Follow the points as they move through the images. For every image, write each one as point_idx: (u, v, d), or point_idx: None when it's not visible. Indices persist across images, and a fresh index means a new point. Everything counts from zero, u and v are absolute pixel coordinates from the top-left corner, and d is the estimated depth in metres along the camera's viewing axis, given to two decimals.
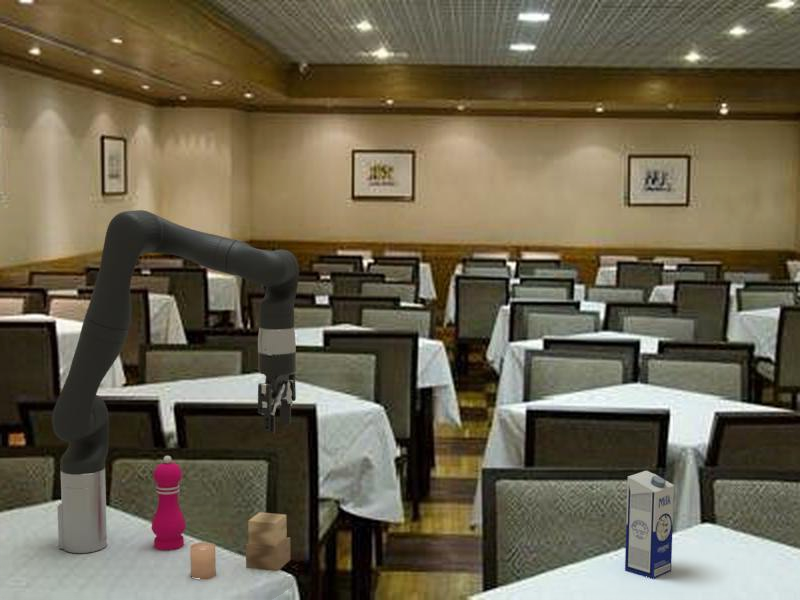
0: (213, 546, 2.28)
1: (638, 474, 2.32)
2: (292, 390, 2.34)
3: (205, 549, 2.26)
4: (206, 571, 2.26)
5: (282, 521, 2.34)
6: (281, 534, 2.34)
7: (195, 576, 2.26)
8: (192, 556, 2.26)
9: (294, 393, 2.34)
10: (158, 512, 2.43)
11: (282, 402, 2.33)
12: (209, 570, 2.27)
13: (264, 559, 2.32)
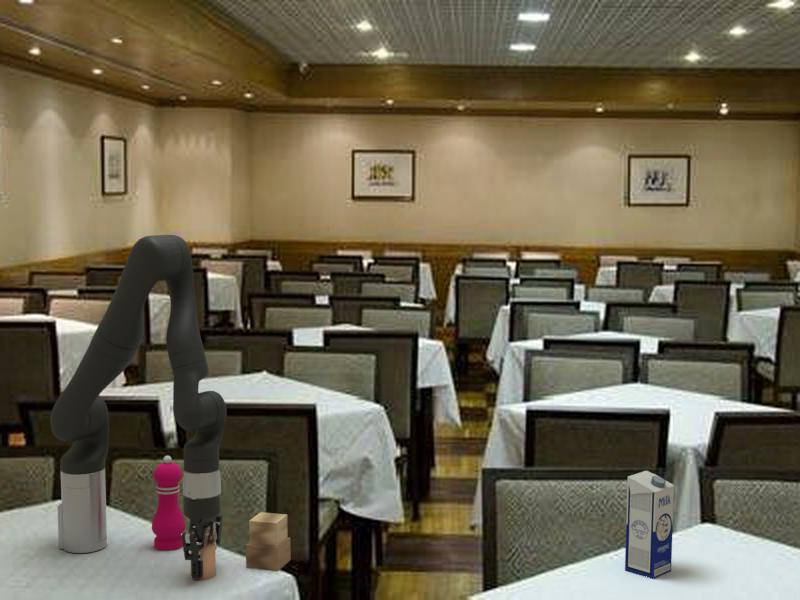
0: (213, 546, 2.28)
1: (638, 474, 2.32)
2: (217, 533, 2.32)
3: (205, 549, 2.26)
4: (206, 570, 2.26)
5: (283, 520, 2.34)
6: (282, 534, 2.34)
7: None
8: None
9: (219, 536, 2.33)
10: (158, 512, 2.43)
11: None
12: (209, 570, 2.27)
13: (264, 559, 2.32)
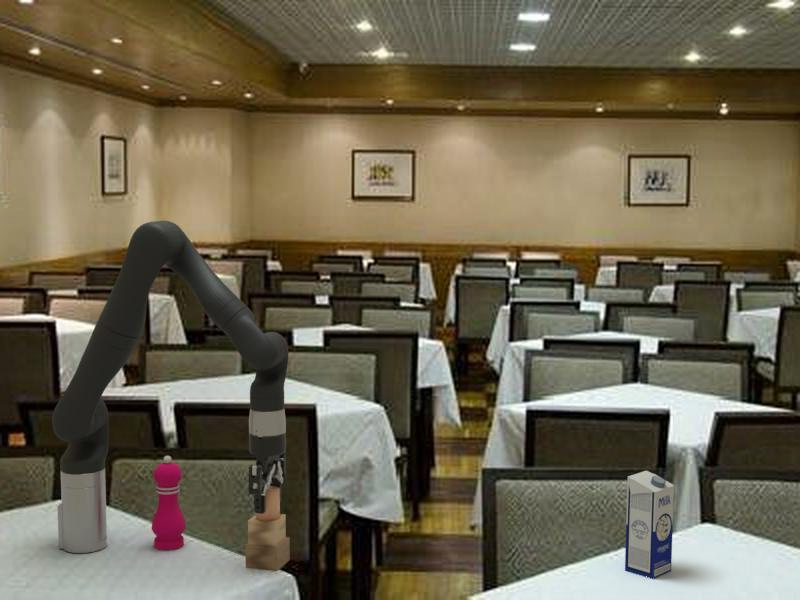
0: (277, 489, 2.33)
1: (638, 474, 2.32)
2: (282, 468, 2.38)
3: (270, 492, 2.31)
4: (272, 513, 2.32)
5: (282, 520, 2.34)
6: (280, 533, 2.34)
7: (260, 518, 2.32)
8: None
9: (284, 470, 2.39)
10: (158, 512, 2.43)
11: (273, 480, 2.38)
12: (274, 512, 2.32)
13: (263, 559, 2.32)
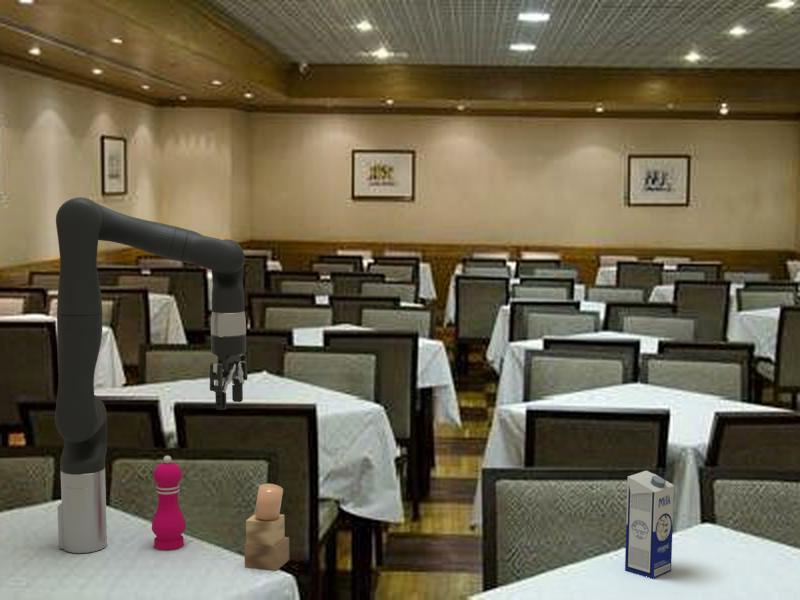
0: (280, 488, 2.34)
1: (638, 474, 2.32)
2: (244, 370, 2.52)
3: (278, 492, 2.31)
4: (276, 512, 2.32)
5: (280, 520, 2.34)
6: (279, 534, 2.34)
7: (265, 517, 2.32)
8: (264, 499, 2.31)
9: (246, 373, 2.52)
10: (158, 512, 2.43)
11: (234, 381, 2.51)
12: (278, 511, 2.33)
13: (262, 558, 2.32)
